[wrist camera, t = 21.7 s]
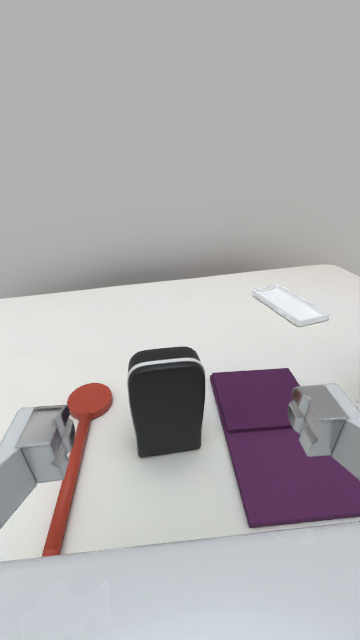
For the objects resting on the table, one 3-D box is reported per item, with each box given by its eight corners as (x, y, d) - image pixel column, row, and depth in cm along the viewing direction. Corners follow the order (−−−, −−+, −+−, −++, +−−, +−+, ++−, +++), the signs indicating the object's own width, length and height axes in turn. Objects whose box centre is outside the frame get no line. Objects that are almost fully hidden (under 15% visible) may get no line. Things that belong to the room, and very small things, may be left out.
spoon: (114, 387, 37) (113, 380, 37) (86, 562, 21) (83, 555, 20) (74, 389, 37) (72, 382, 36) (14, 570, 21) (9, 563, 20)
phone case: (329, 319, 52) (277, 289, 64) (331, 313, 52) (278, 283, 64) (298, 327, 50) (250, 294, 62) (299, 320, 49) (251, 288, 61)
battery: (196, 420, 32) (198, 338, 27) (203, 449, 29) (208, 363, 23) (135, 428, 31) (124, 345, 26) (136, 460, 28) (124, 372, 22)
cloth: (287, 373, 39) (289, 366, 39) (376, 514, 24) (381, 507, 23) (209, 378, 38) (210, 371, 38) (249, 528, 23) (251, 520, 22)
